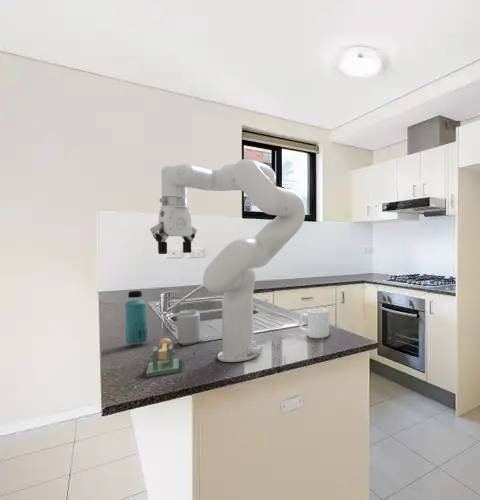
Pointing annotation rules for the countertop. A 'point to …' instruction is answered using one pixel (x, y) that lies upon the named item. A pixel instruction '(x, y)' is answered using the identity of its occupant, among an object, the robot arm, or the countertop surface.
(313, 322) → the cup
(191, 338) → the can
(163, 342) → the spoon
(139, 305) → the beverage bottle
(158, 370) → the spoon stand
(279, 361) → the countertop surface
